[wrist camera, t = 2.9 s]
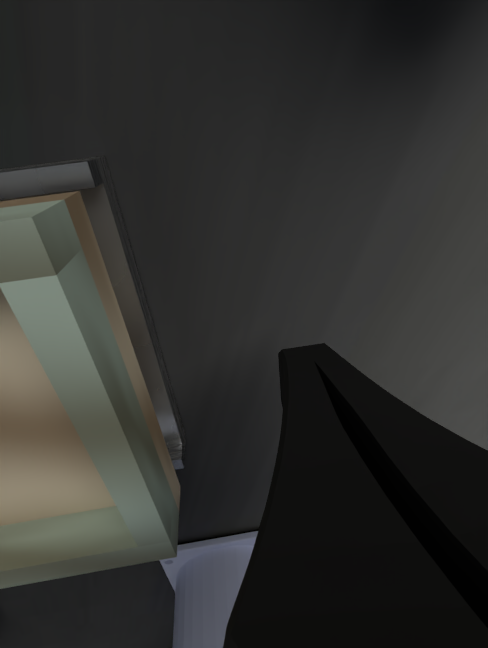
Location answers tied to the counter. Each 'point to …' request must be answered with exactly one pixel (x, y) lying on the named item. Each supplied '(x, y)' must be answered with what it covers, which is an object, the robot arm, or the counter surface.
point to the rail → (110, 271)
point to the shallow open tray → (73, 408)
